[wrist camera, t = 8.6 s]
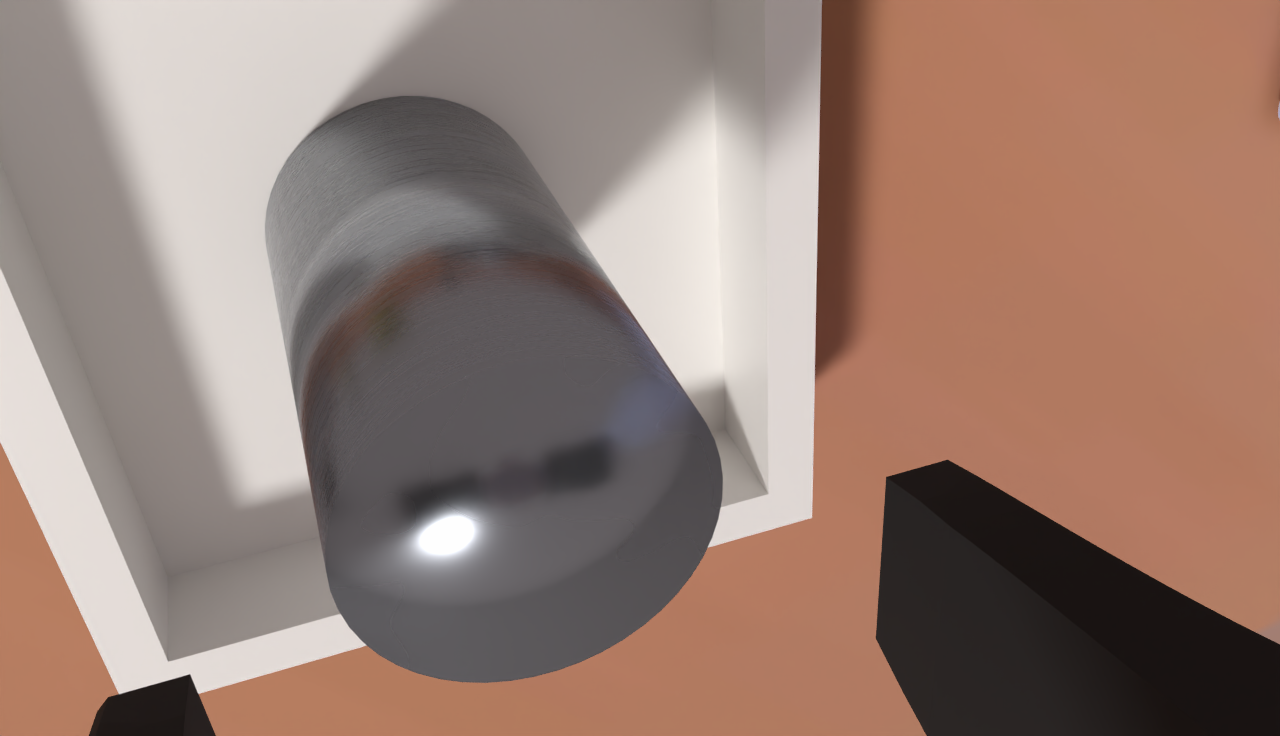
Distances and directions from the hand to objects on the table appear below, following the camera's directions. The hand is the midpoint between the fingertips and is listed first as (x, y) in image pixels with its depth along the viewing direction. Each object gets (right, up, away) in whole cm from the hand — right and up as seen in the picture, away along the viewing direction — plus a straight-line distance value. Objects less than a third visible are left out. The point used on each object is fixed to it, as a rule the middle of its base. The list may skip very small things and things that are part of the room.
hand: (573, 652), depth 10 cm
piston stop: (-3, +4, +7) cm, 9 cm away
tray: (-3, +5, +7) cm, 9 cm away
